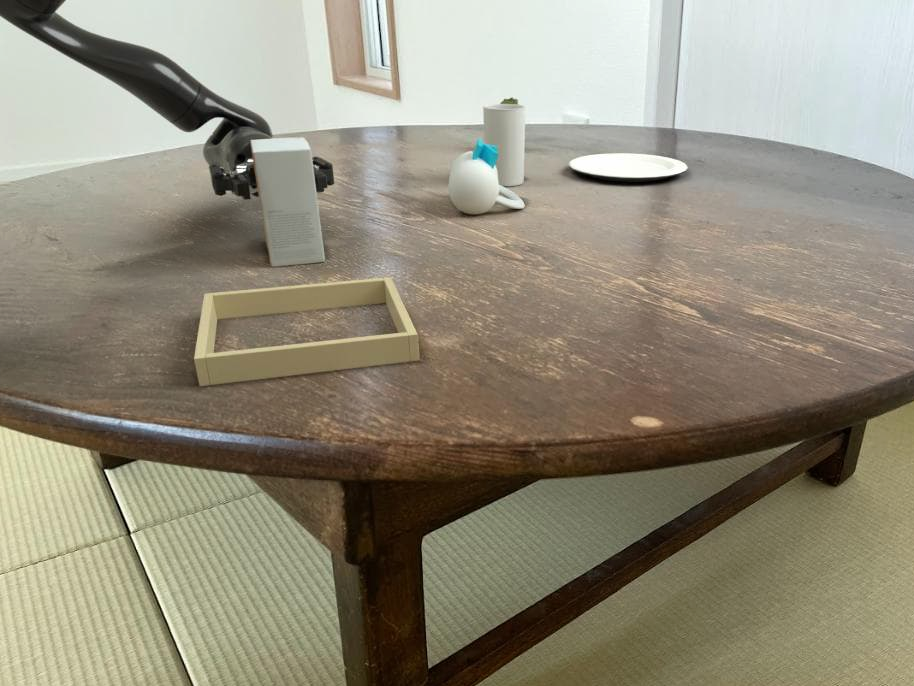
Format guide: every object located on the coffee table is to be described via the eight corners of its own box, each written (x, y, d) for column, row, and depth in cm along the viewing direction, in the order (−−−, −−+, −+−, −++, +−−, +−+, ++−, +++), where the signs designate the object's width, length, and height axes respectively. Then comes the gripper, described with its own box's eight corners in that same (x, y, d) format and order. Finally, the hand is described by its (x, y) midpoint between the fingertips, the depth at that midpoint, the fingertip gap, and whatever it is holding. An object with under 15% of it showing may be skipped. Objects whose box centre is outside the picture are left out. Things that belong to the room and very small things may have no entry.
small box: (266, 248, 98) (249, 139, 92) (319, 244, 100) (305, 136, 94) (269, 267, 92) (251, 151, 86) (326, 262, 94) (312, 148, 88)
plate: (687, 164, 148) (688, 155, 147) (686, 189, 130) (687, 178, 129) (576, 159, 151) (576, 150, 150) (559, 183, 133) (560, 172, 132)
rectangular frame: (200, 392, 63) (193, 358, 62) (209, 322, 77) (204, 293, 75) (420, 366, 68) (417, 334, 67) (393, 304, 81) (390, 276, 80)
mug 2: (464, 144, 107) (465, 130, 118) (439, 207, 111) (443, 188, 121) (543, 180, 110) (537, 163, 120) (517, 239, 113) (514, 218, 124)
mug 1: (531, 185, 131) (531, 108, 126) (493, 188, 129) (491, 110, 123) (508, 173, 140) (508, 100, 134) (472, 176, 137) (470, 102, 132)
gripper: (315, 186, 110) (347, 212, 98) (206, 196, 105) (225, 225, 92) (308, 130, 107) (340, 149, 94) (195, 137, 101) (214, 158, 88)
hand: (284, 187), depth 93 cm, fingers open, 8 cm apart
